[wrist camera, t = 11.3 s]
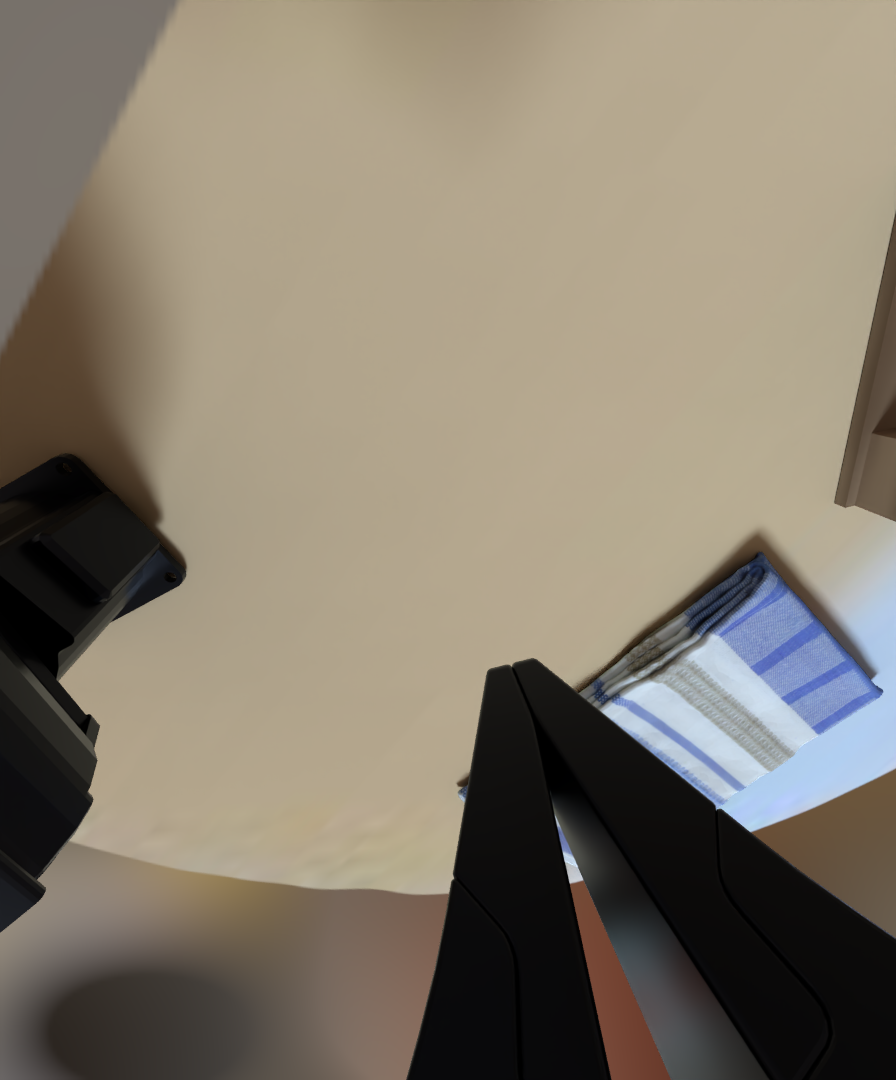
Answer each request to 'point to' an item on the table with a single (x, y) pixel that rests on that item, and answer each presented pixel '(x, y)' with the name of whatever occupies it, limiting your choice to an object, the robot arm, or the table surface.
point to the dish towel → (732, 685)
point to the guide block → (875, 412)
